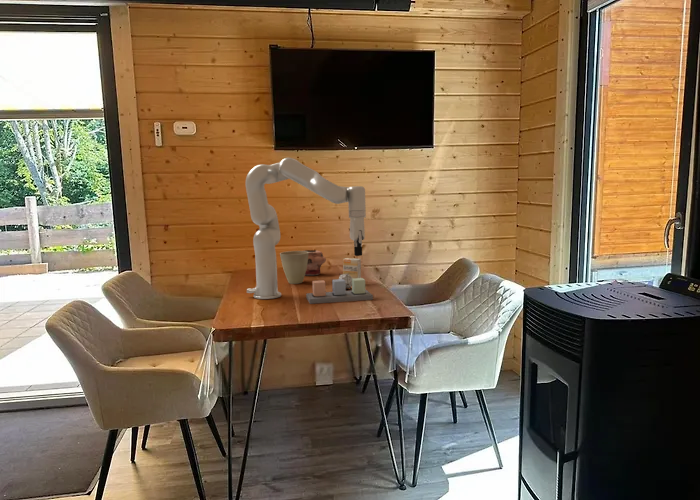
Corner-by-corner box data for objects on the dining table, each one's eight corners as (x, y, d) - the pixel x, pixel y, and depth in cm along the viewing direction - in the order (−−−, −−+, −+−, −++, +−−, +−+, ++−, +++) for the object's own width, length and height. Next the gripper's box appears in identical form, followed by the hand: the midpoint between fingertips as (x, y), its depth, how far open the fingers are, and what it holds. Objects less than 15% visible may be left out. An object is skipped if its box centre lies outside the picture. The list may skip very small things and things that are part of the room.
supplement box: (342, 284, 252) (342, 259, 250) (346, 282, 256) (346, 257, 255) (357, 285, 249) (357, 259, 247) (361, 283, 253) (360, 258, 252)
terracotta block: (314, 296, 215) (314, 283, 214) (312, 294, 220) (312, 280, 219) (325, 295, 216) (325, 282, 215) (323, 293, 221) (323, 280, 220)
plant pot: (305, 279, 268) (305, 250, 266) (312, 284, 254) (311, 253, 252) (278, 281, 263) (277, 251, 261) (283, 286, 249) (282, 255, 247)
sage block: (354, 293, 219) (354, 280, 218) (351, 291, 223) (351, 278, 223) (365, 293, 220) (365, 279, 219) (362, 290, 225) (362, 277, 224)
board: (309, 303, 211) (309, 299, 211) (306, 297, 223) (306, 293, 223) (372, 299, 217) (372, 295, 217) (366, 293, 229) (366, 289, 228)
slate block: (334, 295, 217) (334, 281, 216) (332, 292, 222) (332, 279, 221) (345, 294, 218) (345, 281, 217) (343, 292, 223) (343, 279, 222)
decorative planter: (290, 277, 275) (289, 252, 273) (292, 273, 287) (291, 249, 285) (325, 276, 275) (325, 251, 273) (326, 272, 287) (325, 248, 285)
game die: (348, 297, 239) (352, 283, 232) (332, 290, 240) (335, 276, 233) (354, 285, 245) (358, 271, 239) (339, 279, 247) (342, 265, 240)
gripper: (345, 213, 223) (346, 253, 226) (352, 215, 209) (353, 258, 211) (361, 213, 225) (362, 252, 227) (369, 214, 210) (370, 257, 213)
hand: (358, 255), depth 219 cm, fingers closed
